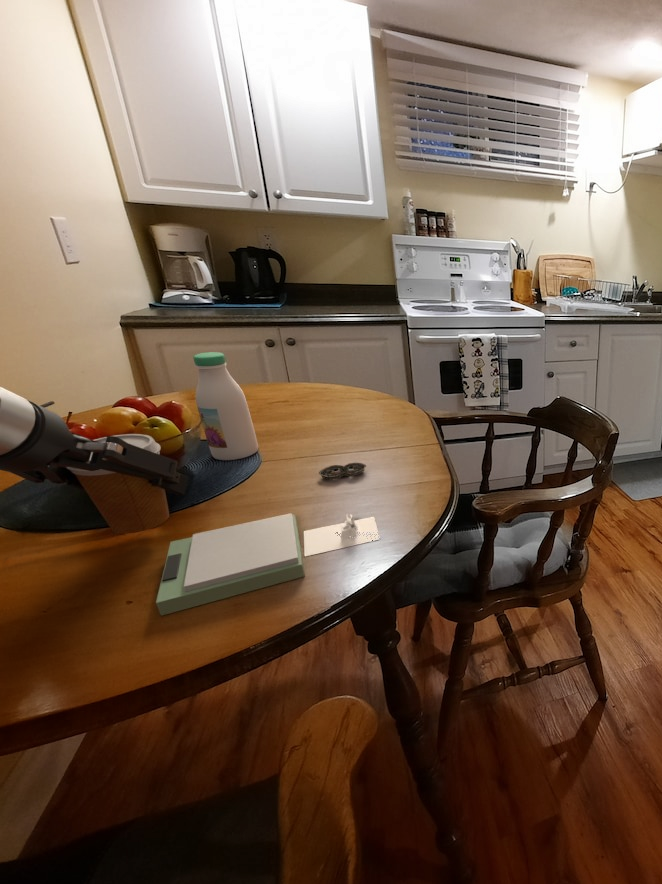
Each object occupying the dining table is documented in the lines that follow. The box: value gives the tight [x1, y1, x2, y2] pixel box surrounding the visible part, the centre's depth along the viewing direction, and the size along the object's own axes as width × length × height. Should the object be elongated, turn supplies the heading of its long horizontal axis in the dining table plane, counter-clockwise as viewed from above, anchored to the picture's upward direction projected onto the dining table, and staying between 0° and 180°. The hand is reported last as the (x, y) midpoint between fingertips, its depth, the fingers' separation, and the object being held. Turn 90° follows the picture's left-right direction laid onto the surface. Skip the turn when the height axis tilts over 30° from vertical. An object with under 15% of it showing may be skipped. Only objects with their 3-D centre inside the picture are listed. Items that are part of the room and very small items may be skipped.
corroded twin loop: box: [318, 462, 367, 481], centre depth 92 cm, size 5×8×1 cm, turn 116°
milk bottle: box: [192, 351, 259, 461], centre depth 94 cm, size 8×8×20 cm
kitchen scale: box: [155, 512, 306, 617], centre depth 67 cm, size 14×15×3 cm
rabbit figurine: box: [340, 513, 359, 540], centre depth 75 cm, size 3×3×3 cm
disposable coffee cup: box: [66, 433, 170, 535], centre depth 68 cm, size 10×10×12 cm
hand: (147, 486), depth 72 cm, fingers closed on disposable coffee cup, 9 cm apart
